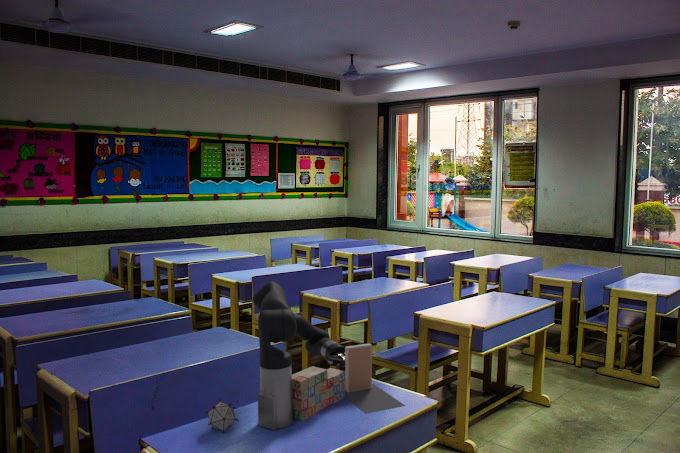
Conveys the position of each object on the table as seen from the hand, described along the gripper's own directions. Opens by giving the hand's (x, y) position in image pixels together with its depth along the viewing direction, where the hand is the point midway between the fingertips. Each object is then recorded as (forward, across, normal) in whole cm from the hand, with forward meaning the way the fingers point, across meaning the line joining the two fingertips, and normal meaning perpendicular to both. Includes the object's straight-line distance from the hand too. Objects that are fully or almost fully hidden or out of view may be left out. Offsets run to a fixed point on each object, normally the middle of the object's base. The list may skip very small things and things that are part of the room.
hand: (354, 366), depth 186 cm
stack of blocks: (+10, -18, +8) cm, 22 cm away
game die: (+13, -48, +8) cm, 51 cm away
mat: (+11, 0, +8) cm, 13 cm away
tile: (+3, 0, +7) cm, 8 cm away
